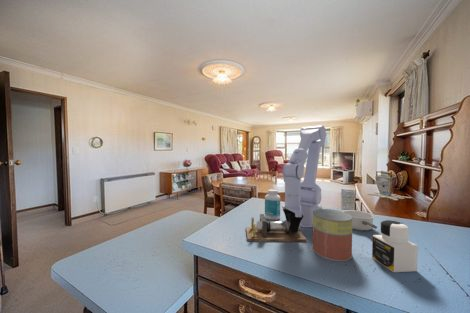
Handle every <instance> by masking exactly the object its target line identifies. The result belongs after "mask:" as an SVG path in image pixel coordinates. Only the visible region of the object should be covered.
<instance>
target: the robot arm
mask: <svg viewBox="0 0 470 313" xmlns="http://www.w3.org/2000/svg"><path fill="white" fill-rule="evenodd" d="M299 136H300V141H299V144H298V148H296V149H294V150H293V151H292V154H291V156H290V158H289V160H288V162H287V163H285V164H284V165H283V166H282V170H281V173H282V177H283V182H284V204H281V208H282V211H283V213H284V217H285V220H288V221H289V222H290V229H291V232H292V233H297V232H298V228H299V225H300V228H313V211H315V210H318V209H323V206H322V205H321V202H322V188H321V187H320V186H319V185H318V184H317V183H316V180H317V175H318V166H319V159H320V153H321V148H322V147H323V146H325V142H326V138H327V137H326V136H327V131H326V127H325V126H324V125H314V126H312V125H311V126H302V127H301V128H300V131H299ZM307 151H308V152H307ZM305 163H306V164H305ZM302 178H303V180H302Z"/></svg>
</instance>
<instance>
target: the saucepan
mask: <svg viewBox="0 0 470 313" xmlns="http://www.w3.org/2000/svg"><path fill="white" fill-rule="evenodd" d="M342 212H345V213H348V214H350V215H351V216H352V217H353V219H352V230H356V231H363V230H366V231H369V230H372V229H375V230H376V229H378V226H376V225H375V224H374V218H375V215H373V214H372V213H369V212H366V211H363V210H362V211H361V210H355V209H354V210H353V209H345V210H343V211H342Z"/></svg>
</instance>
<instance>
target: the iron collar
mask: <svg viewBox="0 0 470 313" xmlns="http://www.w3.org/2000/svg"><path fill="white" fill-rule="evenodd" d="M259 221H262V237H267V221H268V220H267V218H265V213H260V214H259Z"/></svg>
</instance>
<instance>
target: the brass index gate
mask: <svg viewBox="0 0 470 313" xmlns="http://www.w3.org/2000/svg"><path fill="white" fill-rule="evenodd" d="M254 219H255V217H253V216H251V226H249V227H250V230H253V235H252V237H257V235H255V227H256V223H255V220H254Z"/></svg>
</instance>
